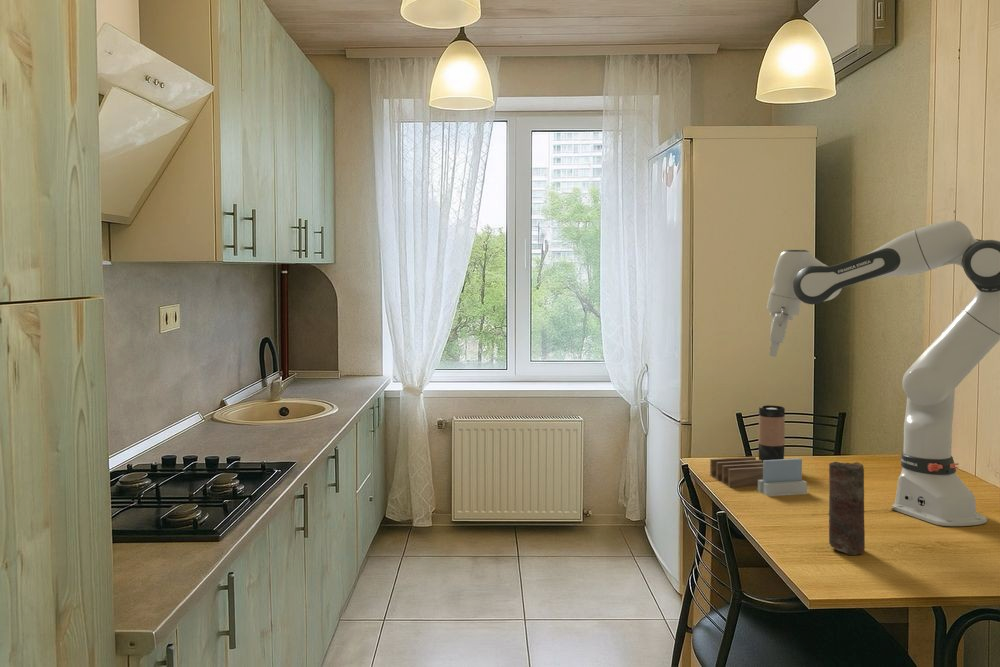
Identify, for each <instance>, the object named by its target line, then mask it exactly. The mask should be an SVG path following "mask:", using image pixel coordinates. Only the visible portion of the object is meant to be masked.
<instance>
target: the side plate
mask: <svg viewBox="0 0 1000 667" xmlns="http://www.w3.org/2000/svg"><path fill="white" fill-rule="evenodd" d="M802 471H803V459H802V458H800V457H796V458H795V457H793V458H784V459H777V460H763V493H764V483H772V482H788V481H803V480H802V479H803V477H802V476H803V475H802V474H803V472H802ZM763 493H762V494H763Z"/></svg>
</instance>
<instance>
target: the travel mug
mask: <svg viewBox="0 0 1000 667" xmlns="http://www.w3.org/2000/svg"><path fill="white" fill-rule="evenodd" d="M758 413H759V414H758V460H762V463H763V460H777V459H785V436H786V435H785V430H786V429H785V425H786V424H785V422H786V420H785V417H786V416H785V407H784V406H780V405H771V404H770V405H768V404H767V405H762V407H760V406H759V408H758Z"/></svg>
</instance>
